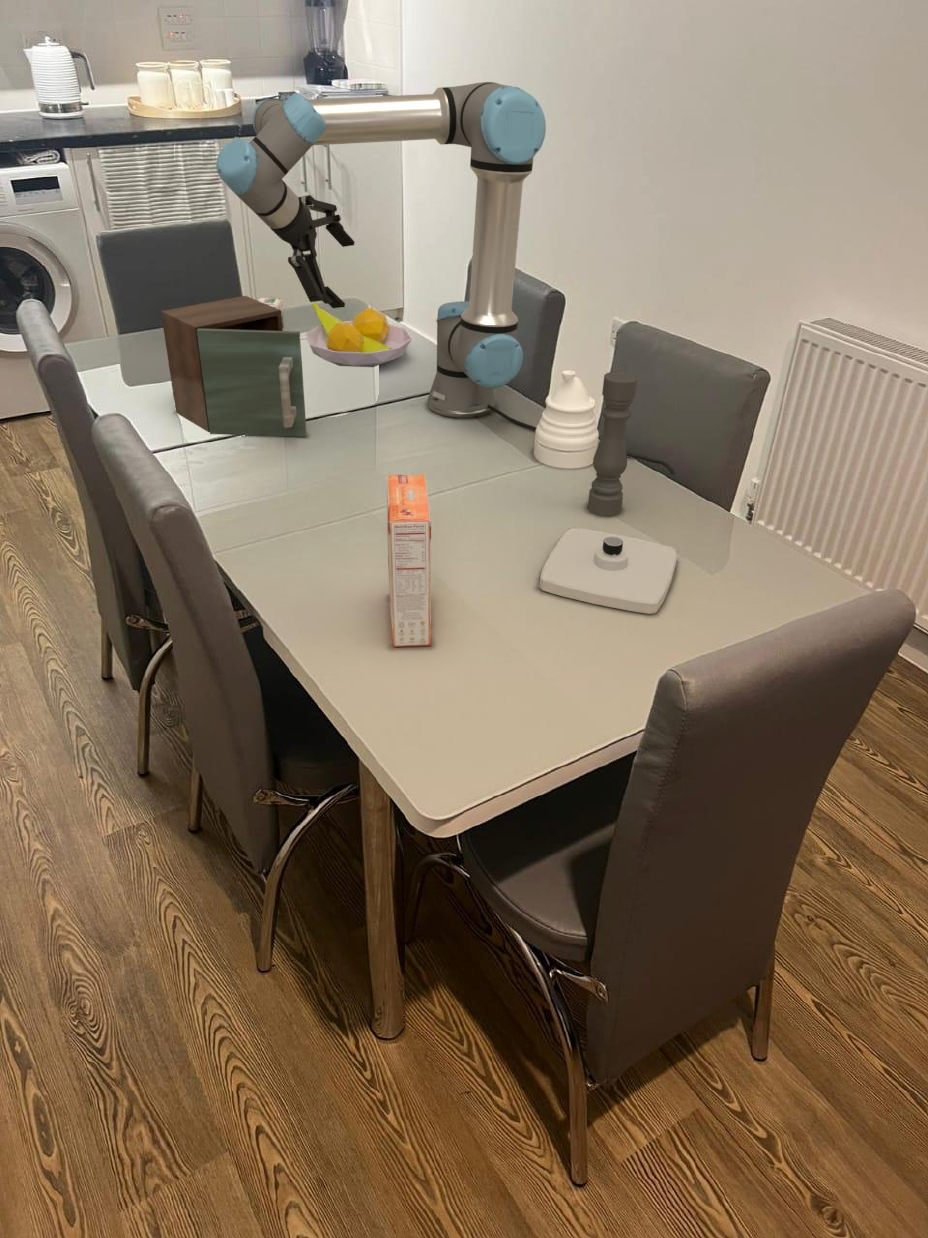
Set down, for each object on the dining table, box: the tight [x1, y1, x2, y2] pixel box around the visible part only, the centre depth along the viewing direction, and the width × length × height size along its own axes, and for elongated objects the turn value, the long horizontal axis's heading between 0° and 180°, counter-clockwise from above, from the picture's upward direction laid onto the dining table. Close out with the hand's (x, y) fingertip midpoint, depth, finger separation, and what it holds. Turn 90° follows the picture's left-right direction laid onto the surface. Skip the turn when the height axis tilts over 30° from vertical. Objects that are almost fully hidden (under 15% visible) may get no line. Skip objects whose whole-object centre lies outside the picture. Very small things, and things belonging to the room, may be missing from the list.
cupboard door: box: [197, 328, 308, 438], centre depth 187 cm, size 8×20×22 cm, turn 90°
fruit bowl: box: [304, 302, 413, 368], centre depth 235 cm, size 28×27×11 cm
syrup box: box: [257, 297, 286, 331], centre depth 232 cm, size 6×6×14 cm
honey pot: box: [533, 369, 600, 470], centre depth 187 cm, size 13×13×18 cm
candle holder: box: [587, 370, 638, 518], centre depth 165 cm, size 6×6×25 cm
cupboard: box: [160, 295, 283, 433], centre depth 200 cm, size 14×20×22 cm
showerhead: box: [539, 527, 678, 615], centre depth 151 cm, size 20×6×20 cm
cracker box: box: [386, 474, 432, 648], centre depth 134 cm, size 14×6×21 cm, turn 5°
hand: (344, 274), depth 188 cm, fingers open, 13 cm apart
